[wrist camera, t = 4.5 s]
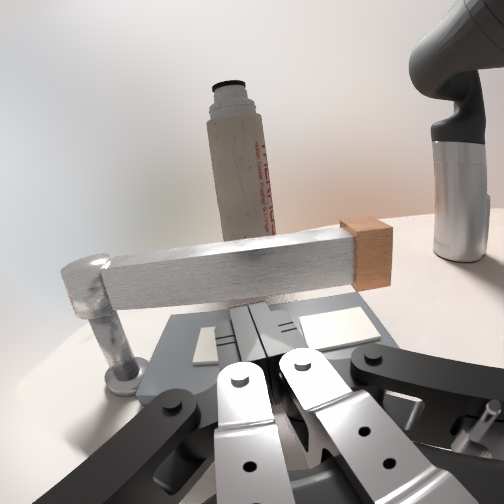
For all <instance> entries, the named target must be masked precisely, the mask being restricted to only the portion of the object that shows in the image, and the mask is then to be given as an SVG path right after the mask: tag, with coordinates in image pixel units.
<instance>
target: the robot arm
mask: <svg viewBox="0 0 504 504" xmlns="http://www.w3.org/2000/svg"><path fill="white" fill-rule="evenodd" d="M501 67H504V0H457V1H456V2H455V4H454V5H453V6H452V8H451V9H450V10H449V11H448V12H447V14H446V15H445V16H444V17H443V18H442V20H441V21H440V22H439V23H438V24H437V25H436V26H435V27H434V28H433V29H432V30H431V31H430V32H429V33H428V34H427V35H426V36H425V37H423V38H422V39H421V40H420V41H419V42H418V43H417V44H416V45H415V47H414V49H413V50H412V53H411V56H410V60H409V74H410V78H411V81H412V83H413V85H414V86H415V88H416V89H417V90H418V91H419V92H420V93H421V94H423V95H425V96H427V97H430V98H434V99H441V100H449V101H454V114H453V115H452V116H451V117H449V118H448V119H445V120H442V121H439V122H436V123H434V124H433V125H432V126H431V137H432V147H433V159H434V176H435V226H434V244H433V251H434V252H435V253H436V254H437V255H439V256H441V257H443V258H446V259H449V260H453V261H460V262H473V261H477V260H479V259H481V258H482V255H484V254H486V249H487V240H488V230H489V217H490V196H489V195H488V194H487V166H486V151H485V150H486V149H485V128H486V117H485V109H484V102H483V95H482V88H481V82H480V78H479V73H478V69H490V68H501ZM247 307H248V308H247ZM229 312H230V317H231V320H227V321H222V322H218V324H217V326H216V328H215V329H214V333H215V341H216V348H217V355H218V362H219V369H220V373H219V375H218V378H217V382H216V383H215V384H214V385H213V386H212V387H210V388H209V389H207V390H205V391H203V392H201V393H198V394H196V395H193V393H191V392H190V391H188V390H185V389H179V388H176V389H169V390H166V391H164V392H162V393H160V394H159V395H157V396H156V397H155V398H154V399H153V400H152V401H151V402H150V403H149V404H148V405H147V406H145V407H144V408H143V409H142V410H141V411H140V412H139V413H138V414H137V415H136V416H135V417H134V418H132V419H131V420H130V421H129V422H128V423H127V424H126V425H125V426H124V427H123V428H121V429H120V430H119V431H118V432H117V433H116V434H115V435H114V436H112V437H111V438H110V439H109V440H108V441H107V442H106V443H105V444H103V445H102V446H101V447H100V448H99V449H98V450H97V451H95V452H94V453H93V454H92V455H91V456H90V457H88V458H87V459H86V460H85V461H84V462H83V463H81V464H80V465H79V466H78V467H77V468H75V469H74V470H73V471H72V472H71V473H69V474H68V475H67V476H66V477H65V478H64V479H62V480H61V481H60V482H59V483H57V484H56V485H55V486H54V487H52V488H51V489H50V490H49V491H47V492H46V493H45V494H44V495H42V496H41V497H40V498H38V499H37V500H36V501H35V502H33V503H32V504H178V503H179V502H180V501H181V500H182V499H183V498H184V496H185V495H186V494H187V493H188V492H189V491H190V489H191V488H192V487H193V486H194V485H195V483H196V482H197V481H198V480H199V479H200V477H201V476H202V475H203V474H204V472H205V471H206V470H207V469H208V467H209V466H210V465H211V463H212V462H213V461H214V460H215V475H216V494H215V495H214V496H212V497H210V498H209V499H207V500H206V501H205V502H203V503H202V504H504V369H502V368H496V367H489V366H483V365H477V364H471V363H466V362H460V361H455V360H450V359H445V358H440V357H435V356H430V355H425V354H420V353H416V352H411V351H407V350H402V349H398V348H394V347H390V346H385V345H381V344H376V343H369V344H364V345H361V346H359V347H357V348H356V349H355V350H354V351H353V352H352V354H351V358H347V359H334V360H332V359H325V358H324V356H323V355H322V354H321V353H319V352H318V351H315V350H312V349H310V348H309V346H308V344H307V343H306V341H305V340H304V338H303V336H302V335H301V333H300V332H299V330H298V329H297V327H296V325H295V324H294V323H293V320H292V319H291V317H290V316H289V314H287V313H285V312H284V311H282V310H275V311H270V309H269V307H268V305H267V303H266V302H265V301H261V302H256V303H251V304H247V305H242V306H237V307H232V308H229ZM386 390H390V391H393V392H397V393H401V394H405V395H409V396H413V397H417V398H420V399H421V400H422V401H420V402H416V401H411V400H407V399H403V398H400V397H396V396H392V395H389V394H385V393H386ZM272 399H273V402H274V405H275V404H279V403H282V405H283V407H284V411H285V419H286V422H287V424H288V426H289V428H290V430H291V432H292V433H293V435H294V437H295V439H296V441H297V443H298V445H299V447H300V449H301V451H302V453H303V455H304V457H305V459H306V462H307V465H308V469H307V470H296V471H287V468H286V464H285V460H284V456H283V452H282V447H281V443H280V439H279V435H278V431H277V427H276V423H275V420H274V419H273V415H272V410H271V405H273V404H272ZM412 441H414V442H412ZM417 442H418V443H417ZM421 443H422V444H421ZM425 444H427V445H425ZM428 445H431V446H428ZM432 446H436V447H440V448H445V449H451V450H452V451H449V450H444V449H440V448H436V447H432Z"/></svg>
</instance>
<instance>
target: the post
mask: <svg viewBox="0 0 504 504" xmlns="http://www.w3.org/2000/svg"><path fill="white" fill-rule="evenodd" d="M88 320H89V322H90V325H91V327H92V330H93V332H94V334H95V337H96V339H97V341H98V343H99V346H100V348H101V350H102V352H103V354H104V356H105V358H106V360H107V362H108V364H109V366H110V368H109V369H108V370H107V372H106V374H105V382H106V384H107V386H108V388H109V389H110V391H111V392H112V393H114V394H115V395H118V396H123V397H127V396H133V395H135V394H136V392H137V390H138V387H139V385H140V383H141V380H142V378H143V376H144V373H145V371H146V369H147V366H148V364H149V362H148V361H147V360H145V359H143V358H139V357H134V354H133V352H132V350H131V347H130V345H129V342H128V340H127V338H126V335H125V332H124V330H123V327H122V325H121V322H120V319H119V317H118V314H117V311H116V310H114V311H112V312H110V313H109V314H106V315H104V316H101V317H98V318H94V319H88Z"/></svg>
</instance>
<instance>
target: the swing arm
mask: <svg viewBox="0 0 504 504" xmlns="http://www.w3.org/2000/svg"><path fill="white" fill-rule="evenodd" d="M392 248H393V227H391V226H389V225H387V224H385V223H383V222H381V221H379V220H377V219H375V218H373V217H364V218H354V219H345V220H340V227H339V228H331V229H322V230H314V231H305V232H297V233H289V234H281V235H273V236H265V237H257V238H249V239H241V240H234V241H226V242H218V243H211V244H203V245H196V246H189V247H181V248H174V249H167V250H160V251H153V252H146V253H139V254H132V255H125V256H118V257H114V258H113V259H112V260H111V257H110V255H109V254H96V255H91V256H88V257H84V258H81V259H79V260H77V261H74V262H72V263H70V264H68V265H66V266H65V267H64V268H62V270H61V275H62V278H63V281H64V284H65V287H66V289H67V292H68V295H69V298H70V301H71V303H72V306H73V309H74V311H75V314H76V316H77V317H78V318H80V319H94V318H98V317H101V316H104V315H106V314H109V313H110V312H112V311H114V310H127V309H142V308H156V307H169V306H180V305H192V304H202V303H212V302H222V301H231V300H240V299H249V298H257V297H265V296H273V295H281V294H288V293H295V292H302V291H309V290H316V289H323V288H329V287H336V286H342V285H348V284H351V285H352V287H353V288H354V289H355V290H356V292H359V291H365V290H370V289H376V288H381V287H386V286H390V284H391V270H392Z"/></svg>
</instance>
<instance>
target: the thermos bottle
mask: <svg viewBox="0 0 504 504" xmlns="http://www.w3.org/2000/svg"><path fill="white" fill-rule="evenodd" d="M212 91H213V92H214V93H215V94H214V101H215V103H214V104H212V105H211V106H210V108H209V109H210V111H209V113H210V117H211V120H209V121H208V122H207V131H208V139H209V146H210V153H211V160H212V167H213V174H214V181H215V188H216V195H217V201H218V207H219V212H220V218H221V226H222V233H223V239H224V242H226V241H234V240H241V239H249V238H257V237H265V236H273V235H276V231H275V222H274V213H273V204H272V196H271V189H270V188H271V187H270V179H269V172H268V163H267V156H266V148H265V140H264V133H263V126H262V118H261V115H260V114H257V113H256V111H255V109H256V106H255V105H254V101H253V100H251V99H248V97H247V91H246V90H245V82H243V81H239V80H230V81H224V82H220V83H217V84H215V85H214V86H213V87H212Z"/></svg>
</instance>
